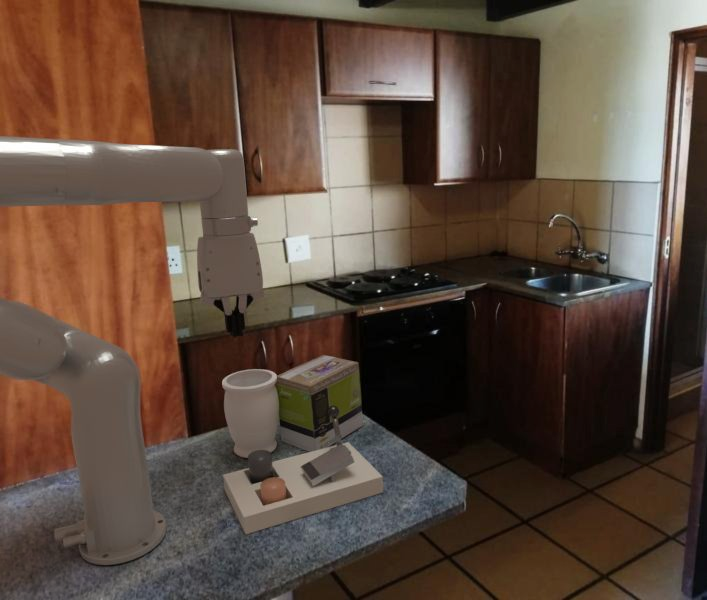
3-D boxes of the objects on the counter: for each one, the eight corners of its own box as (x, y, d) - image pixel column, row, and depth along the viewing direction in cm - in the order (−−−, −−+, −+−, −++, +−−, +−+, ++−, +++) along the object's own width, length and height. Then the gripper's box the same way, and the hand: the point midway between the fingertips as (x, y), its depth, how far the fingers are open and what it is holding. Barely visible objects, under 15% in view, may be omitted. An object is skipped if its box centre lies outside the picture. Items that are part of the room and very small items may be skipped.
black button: (253, 487, 99) (251, 463, 98) (247, 476, 103) (245, 453, 102) (276, 481, 101) (274, 457, 100) (269, 470, 104) (267, 447, 103)
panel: (245, 534, 90) (243, 510, 89) (224, 490, 103) (222, 468, 102) (383, 492, 100) (382, 469, 99) (349, 456, 112) (348, 436, 111)
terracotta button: (266, 518, 94) (264, 493, 92) (259, 505, 97) (257, 481, 96) (290, 511, 95) (288, 486, 94) (282, 499, 99) (280, 475, 98)
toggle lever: (337, 451, 106) (329, 407, 106) (332, 450, 108) (324, 406, 108) (348, 448, 107) (340, 404, 107) (343, 447, 109) (335, 404, 109)
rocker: (313, 486, 97) (310, 479, 96) (302, 472, 101) (299, 466, 101) (354, 462, 99) (352, 455, 99) (342, 449, 104) (340, 443, 103)
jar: (267, 431, 124) (261, 364, 120) (291, 449, 116) (286, 378, 112) (220, 447, 118) (212, 377, 114) (242, 467, 110) (235, 393, 106)
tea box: (328, 415, 130) (325, 352, 127) (363, 427, 124) (361, 361, 120) (279, 442, 119) (274, 374, 116) (315, 456, 113) (311, 384, 109)
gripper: (263, 221, 102) (271, 323, 106) (175, 229, 96) (187, 336, 100) (277, 225, 95) (284, 333, 99) (183, 234, 89) (195, 348, 93)
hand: (236, 334), depth 100 cm, fingers closed
